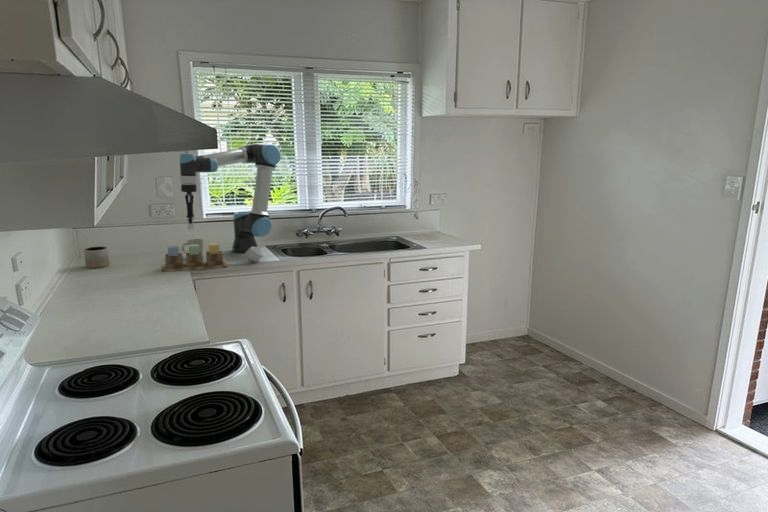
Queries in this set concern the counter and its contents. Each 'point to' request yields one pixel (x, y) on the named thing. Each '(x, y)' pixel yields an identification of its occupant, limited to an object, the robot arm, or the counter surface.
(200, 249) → the mug
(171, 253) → the button slate
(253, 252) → the die
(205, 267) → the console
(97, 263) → the planter
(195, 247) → the button sage
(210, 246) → the button ochre
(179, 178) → the robot arm
